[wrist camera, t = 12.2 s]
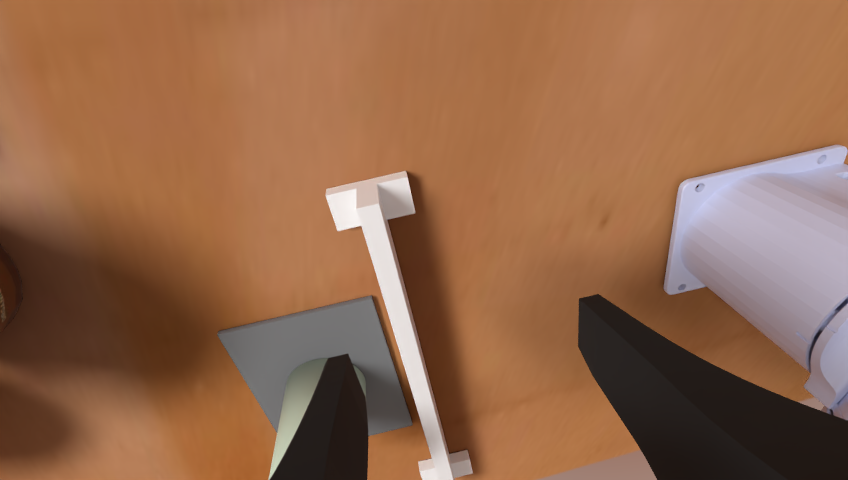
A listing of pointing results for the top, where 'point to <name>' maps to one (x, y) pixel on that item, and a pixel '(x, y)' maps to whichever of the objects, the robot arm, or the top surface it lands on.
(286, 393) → the green cylinder
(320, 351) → the mat
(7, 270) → the food container
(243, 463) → the top surface
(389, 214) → the low wall
